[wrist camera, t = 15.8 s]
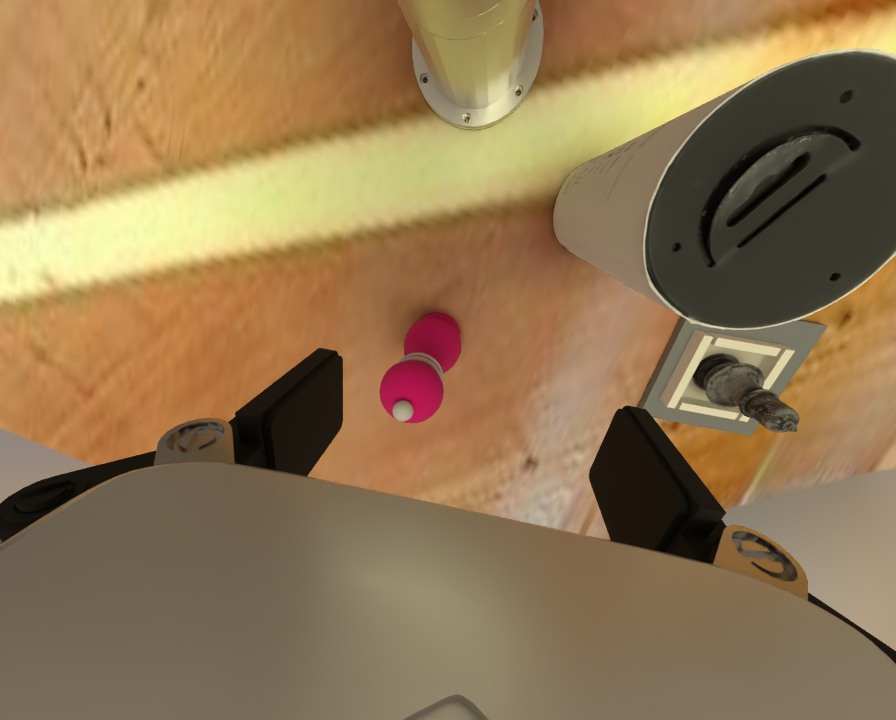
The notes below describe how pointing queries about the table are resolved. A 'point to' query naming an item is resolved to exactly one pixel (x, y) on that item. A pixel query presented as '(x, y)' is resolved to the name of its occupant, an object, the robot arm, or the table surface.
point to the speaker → (750, 196)
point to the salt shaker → (743, 391)
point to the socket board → (691, 343)
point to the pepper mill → (421, 369)
